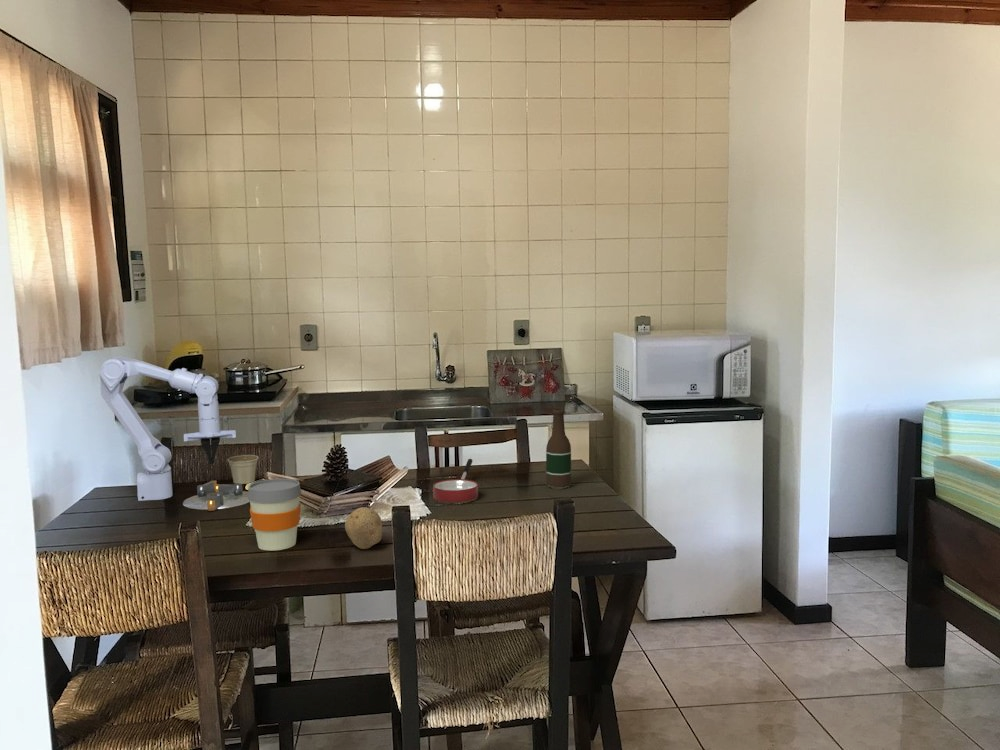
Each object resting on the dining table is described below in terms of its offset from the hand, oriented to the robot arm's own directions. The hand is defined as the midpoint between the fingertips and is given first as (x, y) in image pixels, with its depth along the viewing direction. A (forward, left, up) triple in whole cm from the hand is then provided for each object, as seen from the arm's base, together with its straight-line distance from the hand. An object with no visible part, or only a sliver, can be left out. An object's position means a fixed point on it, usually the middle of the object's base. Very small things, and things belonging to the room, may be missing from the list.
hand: (211, 463), depth 247 cm
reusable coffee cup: (+16, -52, -11) cm, 55 cm away
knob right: (+4, -4, -9) cm, 11 cm away
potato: (+36, -62, -11) cm, 72 cm away
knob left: (-2, 0, -9) cm, 9 cm away
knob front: (+1, -17, -9) cm, 19 cm away
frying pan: (+71, -18, -11) cm, 74 cm away
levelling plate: (+2, -8, -10) cm, 13 cm away
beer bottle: (+101, -24, -11) cm, 104 cm away
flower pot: (+9, +12, -11) cm, 18 cm away
